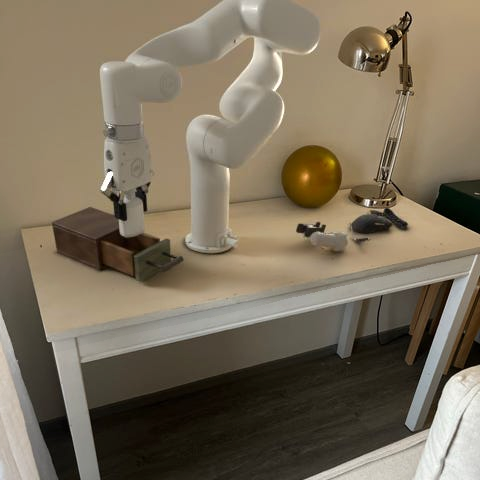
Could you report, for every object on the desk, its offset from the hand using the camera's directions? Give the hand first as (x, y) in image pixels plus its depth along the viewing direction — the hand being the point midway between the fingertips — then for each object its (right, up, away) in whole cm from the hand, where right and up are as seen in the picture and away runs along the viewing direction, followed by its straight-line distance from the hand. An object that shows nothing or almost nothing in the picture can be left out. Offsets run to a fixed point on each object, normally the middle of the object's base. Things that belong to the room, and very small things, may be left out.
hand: (131, 213), depth 112 cm
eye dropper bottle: (0, -4, +3) cm, 5 cm away
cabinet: (-11, -7, +13) cm, 19 cm away
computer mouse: (+63, +5, +36) cm, 73 cm away
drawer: (+1, -11, +6) cm, 13 cm away
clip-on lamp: (+49, -3, +23) cm, 54 cm away
